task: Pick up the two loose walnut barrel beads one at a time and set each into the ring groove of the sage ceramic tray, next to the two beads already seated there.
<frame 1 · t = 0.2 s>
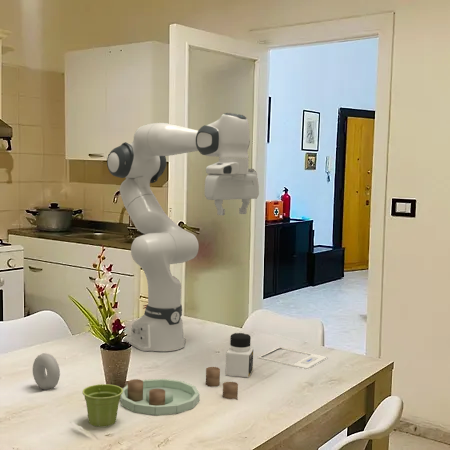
hand: (232, 214, 194), 48 cm above the table, tool pointing down, fingers open, 8 cm apart
bead seated 1: (156, 408, 163), point 1 cm above the table, touching tray
donut: (46, 390, 177), on the table
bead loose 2: (212, 384, 185), on the table
photo frame: (292, 360, 212), on the table
bead loose 1: (229, 400, 173), on the table
medicine bottle: (239, 373, 196), on the table
plant pot: (102, 426, 154), on the table
tray: (159, 403, 169), on the table
bead seated 2: (135, 398, 169), point 1 cm above the table, touching tray
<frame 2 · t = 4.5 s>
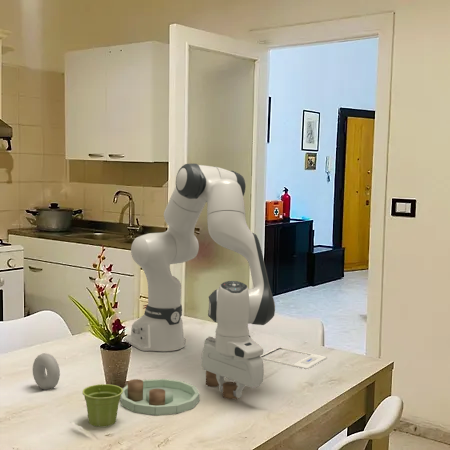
hand: (230, 394, 173), 2 cm above the table, tool pointing down, fingers closed on bead loose 1, 4 cm apart
bead loose 1: (229, 400, 173), on the table, touching gripper
everything else where it was.
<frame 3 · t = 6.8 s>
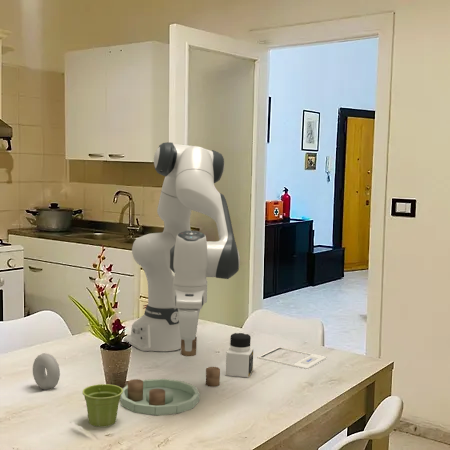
hand: (188, 347, 168), 15 cm above the table, tool pointing down, fingers closed on bead loose 1, 4 cm apart
bead loose 1: (188, 354, 168), point 14 cm above the table, touching gripper
everything else where it was.
when the fingers open (4 cm above the table, at t = 9.3 s): bead loose 1 drops 1 cm, resting on tray.
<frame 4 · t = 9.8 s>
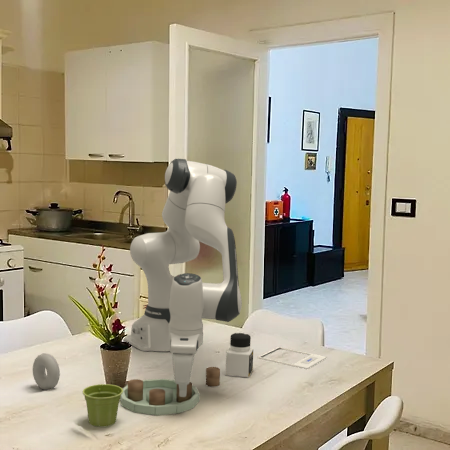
hand: (184, 389, 169), 4 cm above the table, tool pointing down, fingers open, 8 cm apart
bead loose 1: (183, 400, 169), point 1 cm above the table, touching tray
everything else where it was.
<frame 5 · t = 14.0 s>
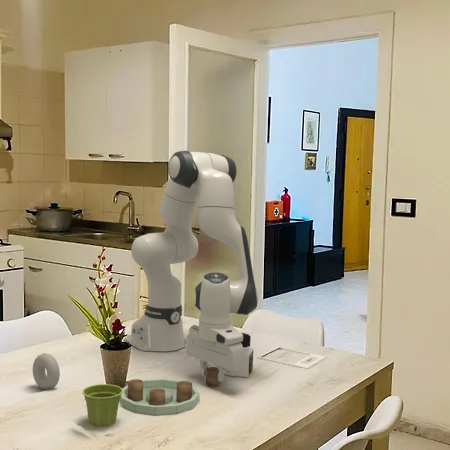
hand: (212, 378, 185), 2 cm above the table, tool pointing down, fingers closed on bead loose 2, 4 cm apart
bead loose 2: (212, 384, 185), on the table, touching gripper
everything else where it was.
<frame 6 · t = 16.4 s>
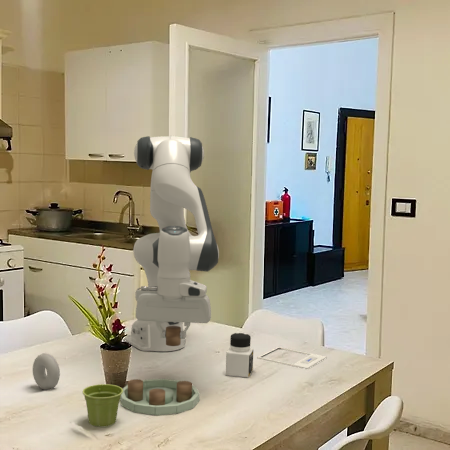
hand: (173, 337, 175), 16 cm above the table, tool pointing down, fingers closed on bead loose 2, 4 cm apart
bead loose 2: (173, 344, 175), point 14 cm above the table, touching gripper
everything else where it was.
when the fingers open (4 cm above the table, at t = 19.1 s): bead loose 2 drops 1 cm, resting on tray.
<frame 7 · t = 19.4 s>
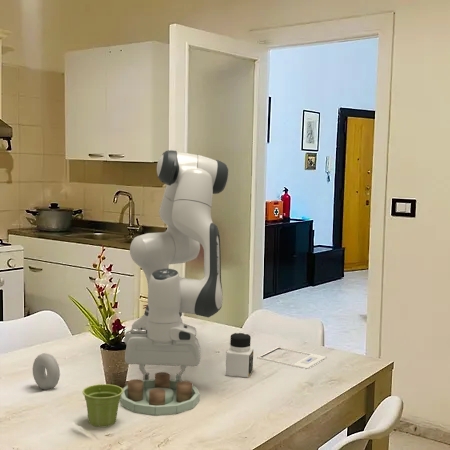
hand: (162, 380, 175), 4 cm above the table, tool pointing down, fingers open, 7 cm apart
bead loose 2: (162, 390, 175), point 1 cm above the table, touching tray
everything else where it was.
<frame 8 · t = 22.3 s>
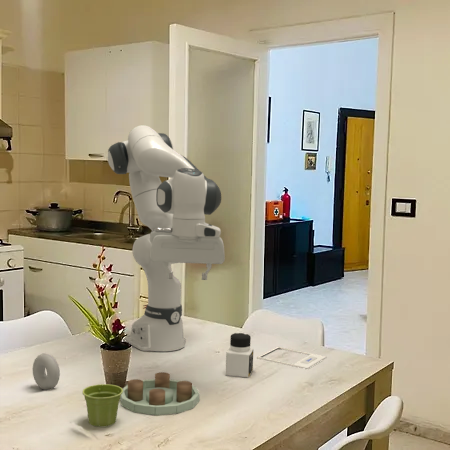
hand: (187, 279, 177), 31 cm above the table, tool pointing down, fingers open, 8 cm apart
nothing on the table moved.
at the end: bead loose 1 6.3 cm from the tray (horizontally); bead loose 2 6.4 cm from the tray (horizontally); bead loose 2 point 1.2 cm above the table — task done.
